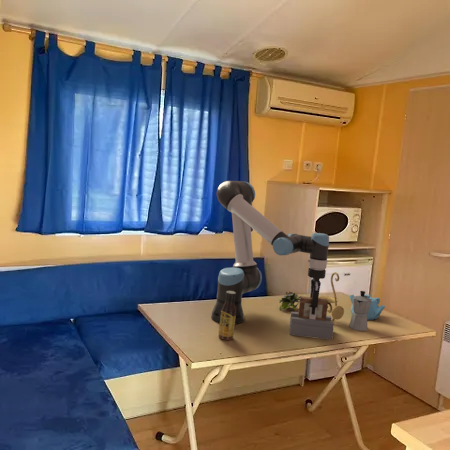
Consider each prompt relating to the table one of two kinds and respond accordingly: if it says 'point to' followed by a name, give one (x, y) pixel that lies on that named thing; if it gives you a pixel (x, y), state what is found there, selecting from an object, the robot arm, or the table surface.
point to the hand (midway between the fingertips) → (311, 319)
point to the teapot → (371, 308)
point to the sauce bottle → (228, 317)
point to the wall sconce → (337, 310)
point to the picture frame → (305, 309)
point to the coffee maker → (360, 312)
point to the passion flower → (289, 300)
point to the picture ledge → (311, 327)
